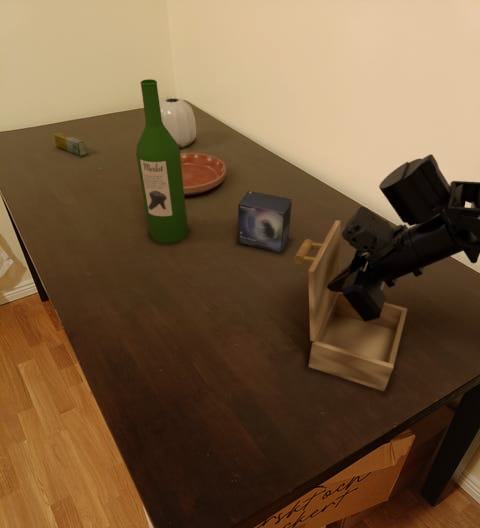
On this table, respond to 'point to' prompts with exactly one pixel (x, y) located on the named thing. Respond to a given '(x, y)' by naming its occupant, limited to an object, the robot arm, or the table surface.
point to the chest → (358, 343)
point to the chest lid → (320, 275)
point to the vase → (178, 120)
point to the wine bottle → (160, 173)
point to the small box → (264, 221)
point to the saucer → (201, 172)
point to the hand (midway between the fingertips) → (329, 287)
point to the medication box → (70, 144)
